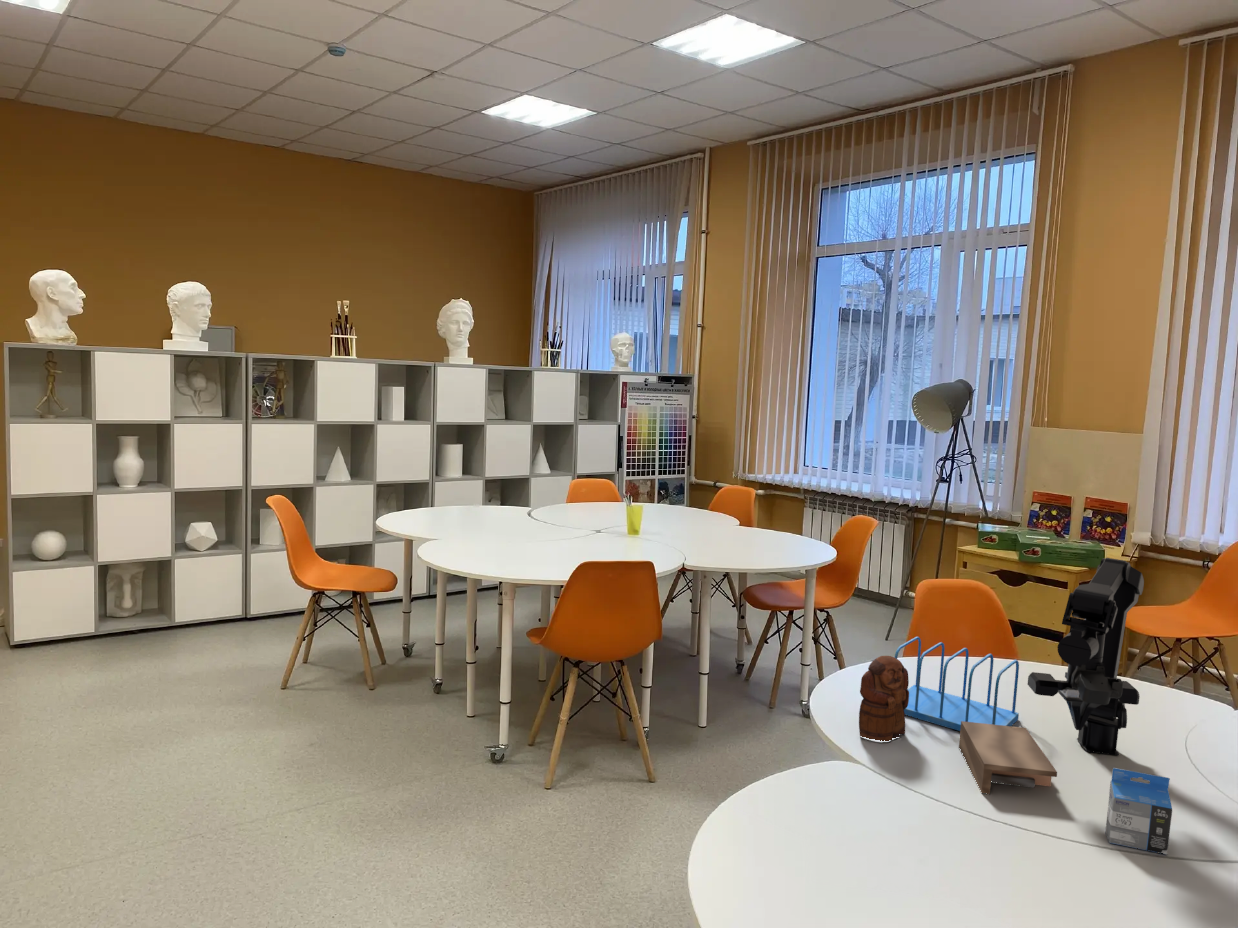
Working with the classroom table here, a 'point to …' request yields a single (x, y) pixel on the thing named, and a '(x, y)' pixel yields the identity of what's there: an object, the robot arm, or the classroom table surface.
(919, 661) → the file sorter
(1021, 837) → the classroom table surface
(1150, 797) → the label tape box
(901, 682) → the wooden figurine
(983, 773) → the low shelf
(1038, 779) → the pink slab with nub
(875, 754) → the classroom table surface
